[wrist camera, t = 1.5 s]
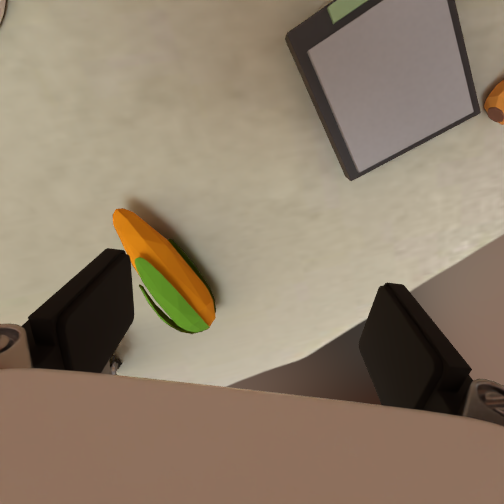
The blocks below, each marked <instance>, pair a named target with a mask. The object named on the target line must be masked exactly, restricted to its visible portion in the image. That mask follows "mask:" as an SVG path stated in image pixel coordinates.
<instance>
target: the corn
mask: <svg viewBox="0 0 504 504" xmlns="http://www.w3.org/2000/svg"><path fill="white" fill-rule="evenodd" d="M113 224H114V227H115V229H116V231H117V233H118V235H119V238H120V240H121V242H122V244H123V246H124V248H125V250H126V252H127V254H128V255H129V256H130V261H131V263H132V265H133V267H134V268H135V270H136V271H137V273H138V274H139V276H140V277H141V279H142V281H143V283H144V285H145V286H146V287H147V289H148V290H149V292H150V293H151V294H152V296H153V297H154V299H155V300H156V301H157V302H158V304H159V305H160V306H161V307H162V308H163V309H164V311H165V312H166V313H167V314H168V315H169V316H170V317H171V319H172V320H171V319H170V318H169V317H168V316H167V315H166V314H165V313H164V312H163V311H162V310H161V309H160V308H159V307H158V306H156V305H155V303H154V302H153V300H152V299H151V298H150V296H149V295H148V294H147V292H146V291H145V289H144V287H143V286H141V285H139V287H140V288H141V290H142V292H143V294H144V296H145V298H146V300H147V301H148V303H149V305H150V306H151V307H152V308H153V310H154V311H155V312H156V313H157V315H158V316H159V317H160V319H162V320H163V321H164V322H165V323H166V324H168V325H169V326H171V327H172V328H174V329H176V330H178V331H180V332H185V333H190V334H194V333H198V332H202V331H204V330H207V329H208V328H210V325H211V324H212V322H213V321H214V319H215V312H216V308H215V299H214V296H213V294H212V291H211V289H210V287H209V286H208V284H207V283H206V281H205V280H204V278H203V277H202V275H201V273H200V272H199V270H198V269H197V267H196V266H195V265H194V264H193V262H192V261H191V260H190V259H189V258H188V256H187V255H186V254H185V253H184V252H183V250H182V249H181V248H180V247H179V246H178V245H177V244H176V243H175V242H174V241H173V240H172V239H168V240H167V239H166V238H164V237H163V236H162V235H161V234H159V233H158V232H157V231H156V230H155V229H153V228H152V227H151V226H150V225H148V224H147V223H146V222H145V221H144V220H142V219H141V218H140V217H139V216H137V215H136V214H135V213H134V212H131V211H129V210H126V209H123V208H122V209H116V210H115V212H114V214H113Z"/></svg>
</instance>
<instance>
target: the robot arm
mask: <svg viewBox="0 0 504 504" xmlns="http://www.w3.org/2000/svg"><path fill="white" fill-rule="evenodd" d="M5 2H6V0H0V22H1V20H2V17H3V14H4V9H5ZM28 319H29V320H28V321H27V322H26V323H25V324H24V325H22V326H19V325H16V324H0V504H504V386H503V385H501V384H499V383H496V382H494V381H490V380H487V379H476V380H472V378H471V377H470V376H469V373H470V371H471V370H472V369H471V368H470V366H469V365H468V364H467V363H466V361H465V360H464V359H463V358H462V356H461V355H460V354H459V353H458V351H457V350H456V349H455V348H454V347H453V345H452V344H451V343H450V342H449V340H448V339H447V338H446V337H445V335H444V334H443V333H442V332H441V331H440V330H439V328H438V327H437V325H436V324H435V323H434V322H433V321H432V319H431V318H430V317H429V316H428V315H427V313H426V312H425V311H424V309H423V308H422V307H421V306H420V304H419V303H418V302H417V301H416V299H415V298H414V297H413V296H412V295H411V293H410V292H409V291H408V290H407V288H406V287H405V286H404V285H402V284H394V283H385V285H384V286H380V287H379V289H378V291H377V294H376V297H375V300H374V302H373V305H372V308H371V311H370V313H369V316H368V319H367V322H366V324H365V327H364V330H363V332H362V335H361V338H360V341H359V349H360V352H361V355H362V357H363V360H364V362H365V365H366V367H367V369H368V372H369V374H370V377H371V379H372V382H373V384H374V387H375V389H376V392H377V394H378V396H379V399H380V402H381V404H382V405H374V404H365V403H358V402H349V401H340V400H333V399H324V398H316V397H307V396H299V395H291V394H282V393H273V392H264V391H255V390H247V389H238V388H228V387H220V386H212V385H203V384H193V383H184V382H175V381H166V380H156V379H147V378H138V377H129V376H119V375H110V374H101V372H102V371H103V369H104V367H105V366H106V364H107V362H108V361H109V359H110V358H111V356H112V354H113V353H114V351H115V350H116V348H117V346H118V345H119V343H120V342H121V340H122V338H123V337H124V335H125V333H126V332H127V330H128V329H129V327H130V325H131V324H132V322H133V319H134V303H133V289H132V275H131V261H130V256H129V255H126V253H125V251H124V250H117V249H109V248H107V249H105V250H104V251H103V252H102V253H101V254H100V255H99V256H97V257H96V258H95V259H94V260H93V261H92V262H91V263H89V264H88V265H87V266H86V267H85V268H84V269H83V270H81V271H80V272H79V273H78V274H77V275H76V276H75V277H73V278H72V279H71V280H70V281H69V282H68V283H67V284H65V285H64V286H63V287H62V288H61V289H60V290H59V291H57V292H56V293H55V294H54V295H53V296H52V297H51V298H49V299H48V300H47V301H46V302H45V303H44V304H43V305H41V306H40V307H39V308H38V309H37V310H36V311H35V312H33V313H32V314H31V315H30V316H29V317H28Z"/></svg>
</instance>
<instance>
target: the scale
mask: <svg viewBox="0 0 504 504" xmlns="http://www.w3.org/2000/svg"><path fill="white" fill-rule="evenodd" d="M285 40H286V43H287V45H288V47H289V49H290V52H291V54H292V56H293V59H294V61H295V63H296V65H297V68H298V70H299V72H300V74H301V77H302V79H303V81H304V84H305V86H306V88H307V90H308V93H309V95H310V97H311V99H312V102H313V104H314V106H315V108H316V111H317V113H318V115H319V118H320V120H321V122H322V124H323V127H324V129H325V131H326V133H327V136H328V138H329V140H330V142H331V145H332V147H333V149H334V152H335V154H336V156H337V158H338V161H339V163H340V165H341V167H342V170H343V172H344V174H345V177H347V178H348V179H349V180H350V181H352V180H354V179H356V178H358V177H360V176H362V175H364V174H366V173H368V172H370V171H371V170H373V169H375V168H377V167H379V166H381V165H383V164H385V163H387V162H388V161H390V160H392V159H394V158H396V157H398V156H400V155H402V154H404V153H406V152H407V151H409V150H411V149H413V148H415V147H417V146H419V145H421V144H423V143H425V142H426V141H428V140H430V139H432V138H434V137H436V136H438V135H440V134H442V133H443V132H445V131H447V130H449V129H451V128H453V127H455V126H457V125H459V124H461V123H462V122H464V121H466V120H468V119H470V118H472V117H474V116H476V115H478V114H480V109H479V104H478V100H477V96H476V91H475V87H474V83H473V78H472V74H471V70H470V65H469V61H468V57H467V52H466V48H465V44H464V39H463V35H462V31H461V26H460V22H459V18H458V13H457V9H456V5H455V0H334V1H332V2H331V3H330V4H328V5H327V6H325V7H324V8H322V9H321V10H320V11H318V12H317V13H315V14H314V15H312V16H311V17H310V18H308V19H307V20H305V21H304V22H302V23H301V24H300V25H298V26H297V27H295V28H294V29H292V30H291V31H289V32H288V33H287V35H286V38H285Z"/></svg>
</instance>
